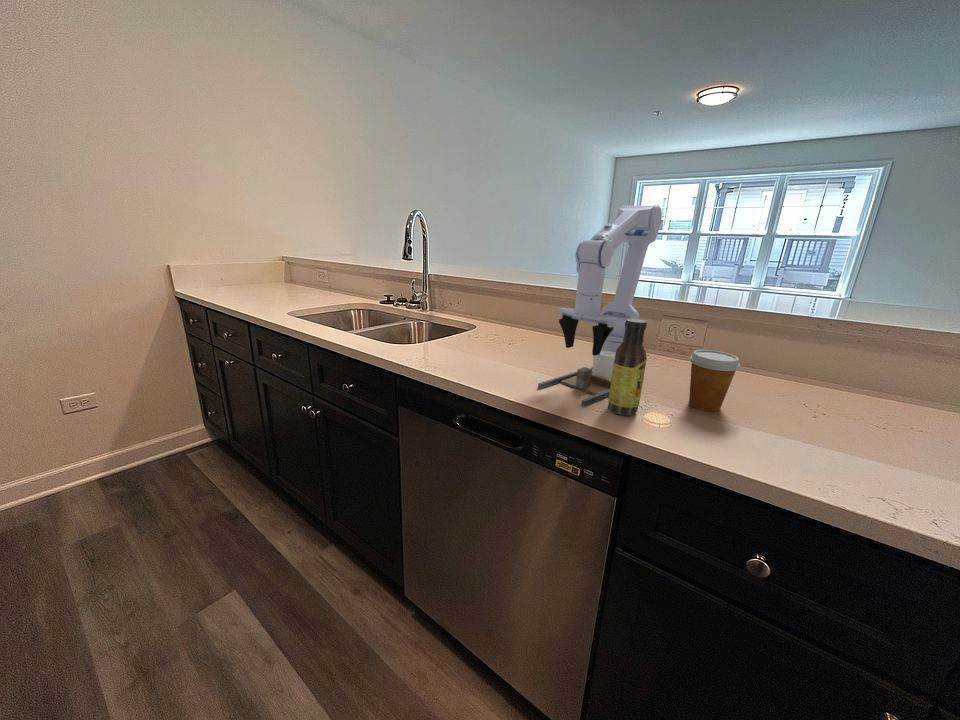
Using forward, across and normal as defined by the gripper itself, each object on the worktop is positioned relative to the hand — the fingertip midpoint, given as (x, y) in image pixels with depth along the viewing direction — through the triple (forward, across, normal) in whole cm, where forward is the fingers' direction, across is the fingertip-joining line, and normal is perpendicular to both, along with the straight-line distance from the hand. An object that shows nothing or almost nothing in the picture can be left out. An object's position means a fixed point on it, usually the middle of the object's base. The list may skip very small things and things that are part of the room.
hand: (582, 350), depth 95 cm
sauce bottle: (+10, +14, -4) cm, 18 cm away
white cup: (+9, +1, +9) cm, 13 cm away
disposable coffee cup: (+10, +24, +14) cm, 30 cm away
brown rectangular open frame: (+9, +1, +6) cm, 11 cm away
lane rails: (+9, +1, +1) cm, 10 cm away
